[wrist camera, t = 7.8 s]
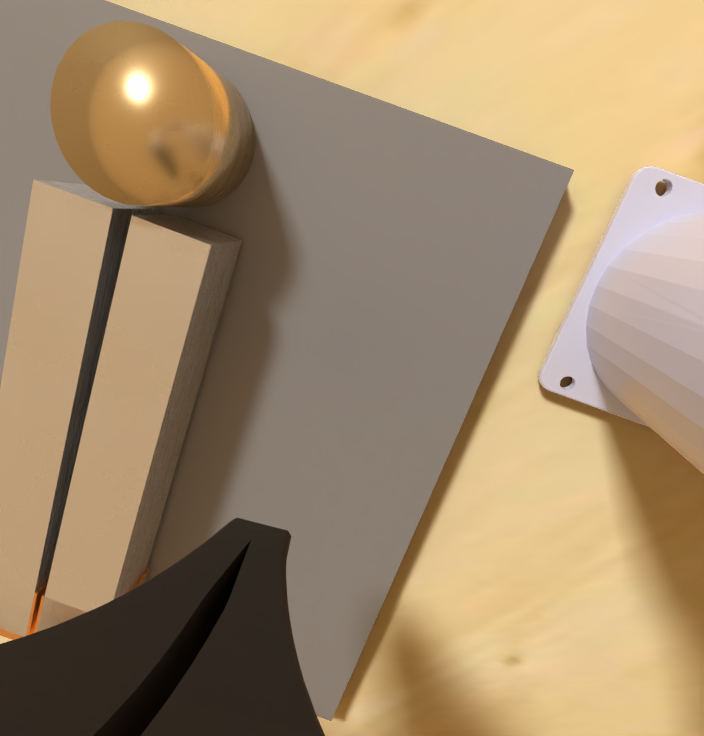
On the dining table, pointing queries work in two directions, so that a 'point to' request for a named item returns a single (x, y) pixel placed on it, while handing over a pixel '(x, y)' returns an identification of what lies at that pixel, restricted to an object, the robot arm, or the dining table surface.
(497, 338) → the cutting board
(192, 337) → the bar
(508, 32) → the dining table surface
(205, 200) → the tongs fixed
